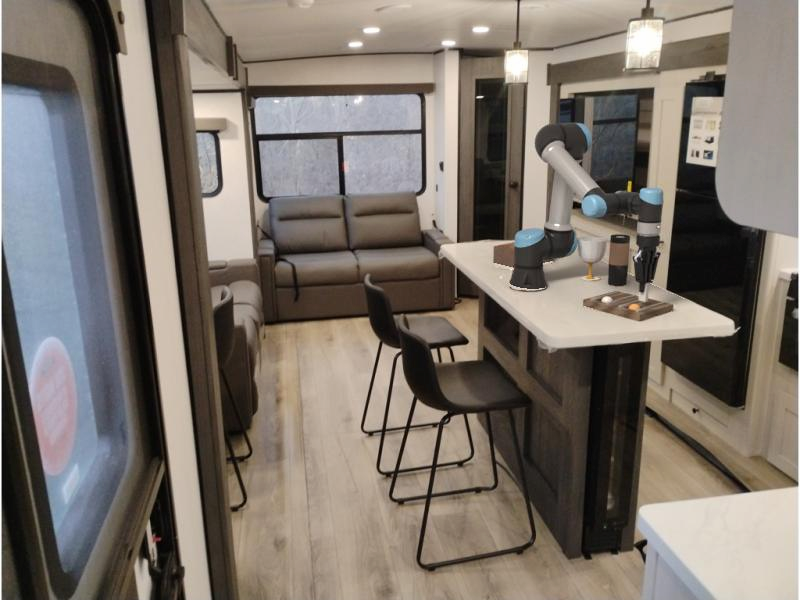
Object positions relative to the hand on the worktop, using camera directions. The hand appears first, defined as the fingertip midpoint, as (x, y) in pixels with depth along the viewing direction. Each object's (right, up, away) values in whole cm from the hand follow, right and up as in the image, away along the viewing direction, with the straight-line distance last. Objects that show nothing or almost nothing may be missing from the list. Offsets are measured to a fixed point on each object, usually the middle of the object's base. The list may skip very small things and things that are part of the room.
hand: (643, 300), depth 228 cm
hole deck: (-4, -3, +6) cm, 7 cm away
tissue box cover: (-27, +16, +77) cm, 83 cm away
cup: (-4, +9, +49) cm, 50 cm away
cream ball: (-10, 0, +8) cm, 13 cm away
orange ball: (-4, -3, -2) cm, 5 cm away
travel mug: (+4, +7, +39) cm, 40 cm away
